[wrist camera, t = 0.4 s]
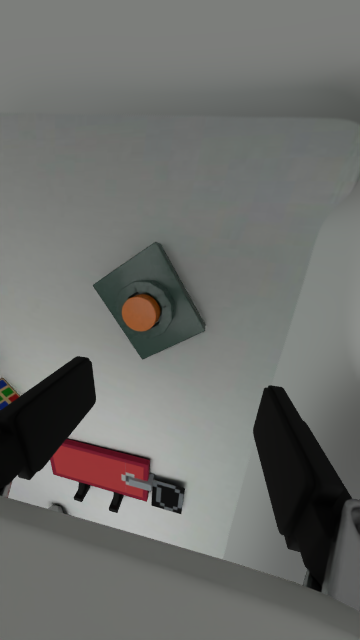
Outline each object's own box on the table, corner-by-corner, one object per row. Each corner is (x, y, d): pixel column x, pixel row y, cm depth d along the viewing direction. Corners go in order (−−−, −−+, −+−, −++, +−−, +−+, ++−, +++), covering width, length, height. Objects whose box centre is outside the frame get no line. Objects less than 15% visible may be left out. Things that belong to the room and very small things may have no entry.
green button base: (102, 283, 24) (82, 287, 20) (160, 243, 21) (150, 239, 17) (147, 352, 26) (137, 366, 23) (205, 325, 24) (204, 336, 20)
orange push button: (122, 303, 21) (114, 307, 19) (148, 287, 20) (143, 290, 18) (140, 331, 21) (134, 337, 20) (166, 317, 20) (162, 322, 19)
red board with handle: (181, 513, 38) (187, 467, 33) (178, 531, 35) (185, 484, 30) (60, 478, 42) (51, 432, 37) (50, 492, 39) (39, 445, 35)
